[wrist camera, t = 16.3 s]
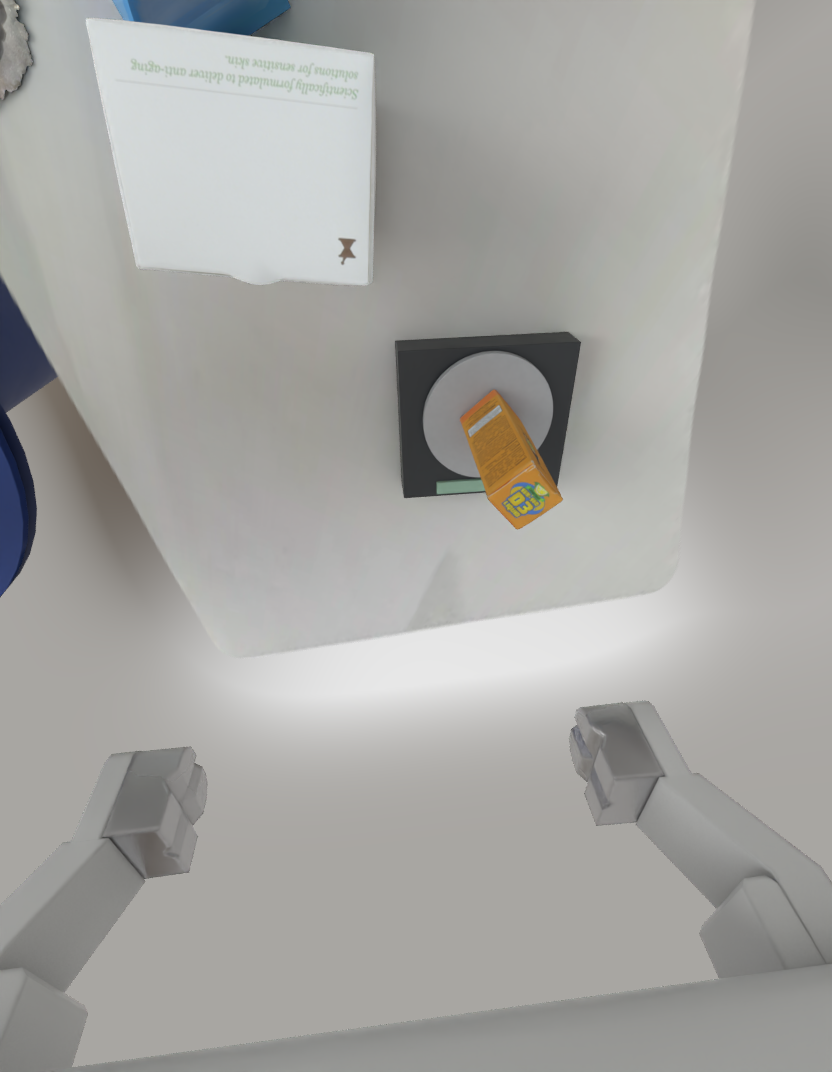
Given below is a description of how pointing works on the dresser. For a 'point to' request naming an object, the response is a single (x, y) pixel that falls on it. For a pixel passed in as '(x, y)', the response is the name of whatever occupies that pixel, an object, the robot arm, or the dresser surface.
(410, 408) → the kitchen scale
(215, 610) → the dresser surface
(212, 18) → the perfume bottle
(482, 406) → the supplement box
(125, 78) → the cosmetic box
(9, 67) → the blueberries
